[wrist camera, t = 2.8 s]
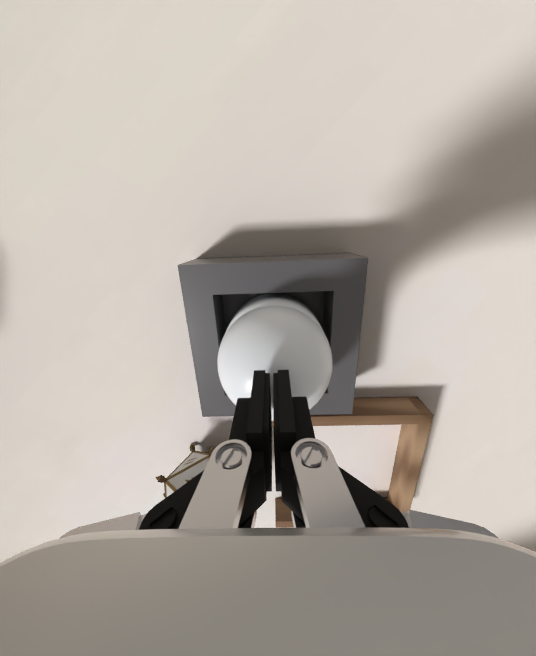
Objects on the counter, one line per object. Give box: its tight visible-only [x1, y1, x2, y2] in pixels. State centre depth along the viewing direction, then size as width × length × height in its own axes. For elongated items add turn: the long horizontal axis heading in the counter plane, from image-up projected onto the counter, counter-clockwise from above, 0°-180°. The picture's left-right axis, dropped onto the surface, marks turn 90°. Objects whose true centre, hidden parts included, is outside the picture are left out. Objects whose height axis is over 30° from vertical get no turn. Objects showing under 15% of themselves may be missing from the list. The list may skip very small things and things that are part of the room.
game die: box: [156, 444, 214, 498], centre depth 23 cm, size 9×8×10 cm
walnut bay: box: [272, 397, 433, 527], centre depth 26 cm, size 15×14×2 cm
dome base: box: [178, 253, 368, 417], centre depth 20 cm, size 12×12×4 cm
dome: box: [217, 293, 332, 421], centre depth 16 cm, size 7×7×7 cm
